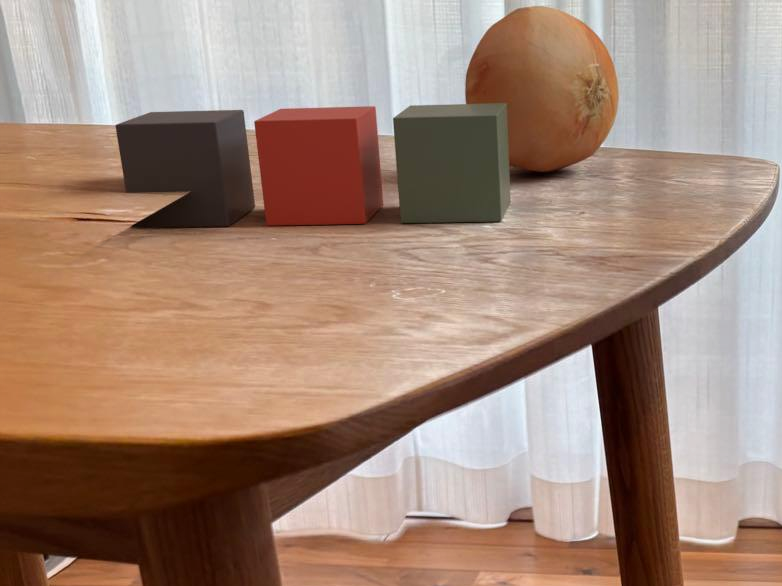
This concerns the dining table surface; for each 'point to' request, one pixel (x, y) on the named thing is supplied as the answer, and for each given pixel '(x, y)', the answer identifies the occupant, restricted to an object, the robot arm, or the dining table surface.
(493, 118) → the green block
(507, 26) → the onion
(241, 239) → the dining table surface
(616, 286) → the dining table surface
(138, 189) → the charcoal block
